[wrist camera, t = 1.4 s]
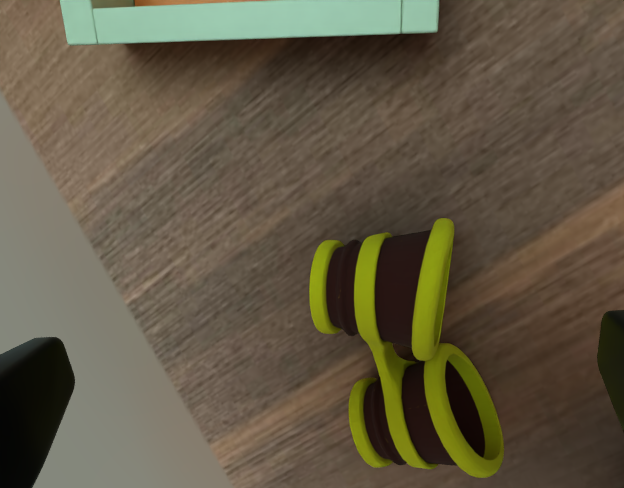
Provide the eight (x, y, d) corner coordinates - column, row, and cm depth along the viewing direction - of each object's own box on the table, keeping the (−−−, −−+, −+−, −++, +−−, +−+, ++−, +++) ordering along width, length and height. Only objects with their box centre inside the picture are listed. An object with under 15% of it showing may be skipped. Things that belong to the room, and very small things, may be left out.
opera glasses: (326, 221, 22) (279, 276, 18) (458, 196, 20) (440, 253, 16) (386, 415, 25) (358, 503, 21) (507, 412, 23) (503, 510, 19)
